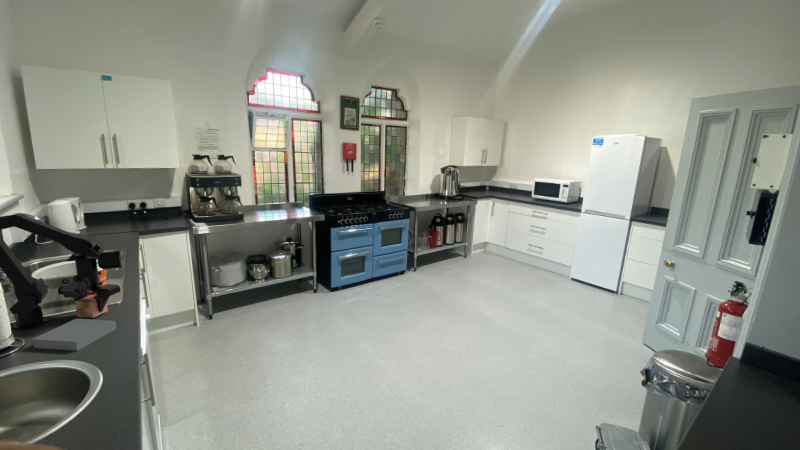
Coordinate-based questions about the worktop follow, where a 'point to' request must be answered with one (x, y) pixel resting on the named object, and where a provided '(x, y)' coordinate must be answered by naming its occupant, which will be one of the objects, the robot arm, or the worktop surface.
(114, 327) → the plinth
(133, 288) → the worktop surface
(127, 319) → the worktop surface
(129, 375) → the worktop surface
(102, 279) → the paper cup
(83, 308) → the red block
